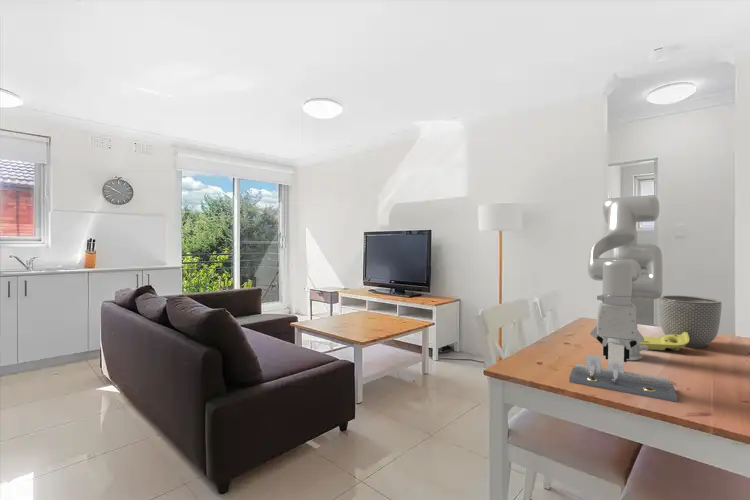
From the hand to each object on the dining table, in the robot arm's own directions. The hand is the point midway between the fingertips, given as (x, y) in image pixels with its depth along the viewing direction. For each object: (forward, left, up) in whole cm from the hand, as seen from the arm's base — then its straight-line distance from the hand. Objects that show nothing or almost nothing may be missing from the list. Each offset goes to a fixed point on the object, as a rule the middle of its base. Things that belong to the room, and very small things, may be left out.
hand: (616, 359), depth 114 cm
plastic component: (-43, -29, -8) cm, 53 cm away
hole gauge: (+1, +2, -7) cm, 8 cm away
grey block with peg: (+1, +2, -5) cm, 6 cm away
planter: (-60, -31, -7) cm, 68 cm away
